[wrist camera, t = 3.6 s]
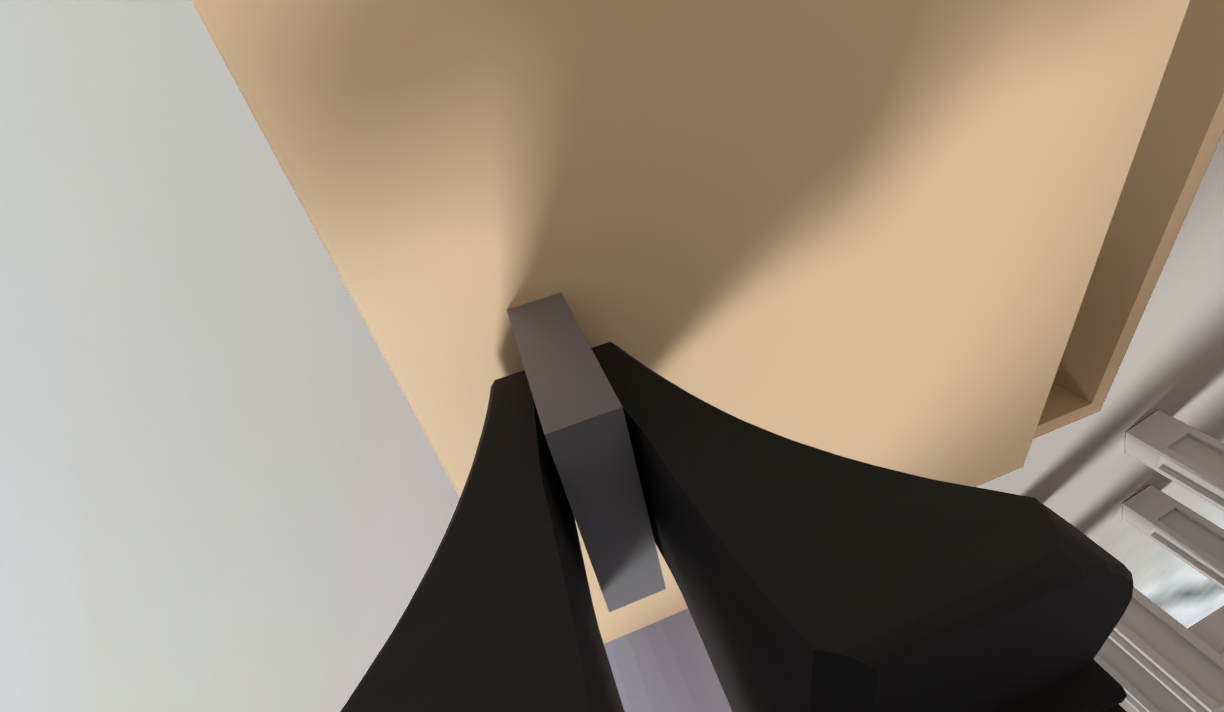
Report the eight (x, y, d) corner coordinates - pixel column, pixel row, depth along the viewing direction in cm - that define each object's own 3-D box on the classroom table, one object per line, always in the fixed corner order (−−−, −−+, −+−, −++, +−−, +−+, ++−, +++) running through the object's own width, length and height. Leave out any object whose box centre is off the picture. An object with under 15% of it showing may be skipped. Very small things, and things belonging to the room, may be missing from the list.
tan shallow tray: (977, 342, 22) (1100, 410, 18) (628, 474, 20) (680, 585, 16) (1128, -284, 12) (1475, -441, 8) (465, -161, 10) (494, -292, 6)
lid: (1006, 454, 18) (1139, 551, 15) (546, 646, 16) (580, 813, 12) (1297, -437, 8) (1985, -806, 4) (70, -260, 5) (-530, -759, 2)
